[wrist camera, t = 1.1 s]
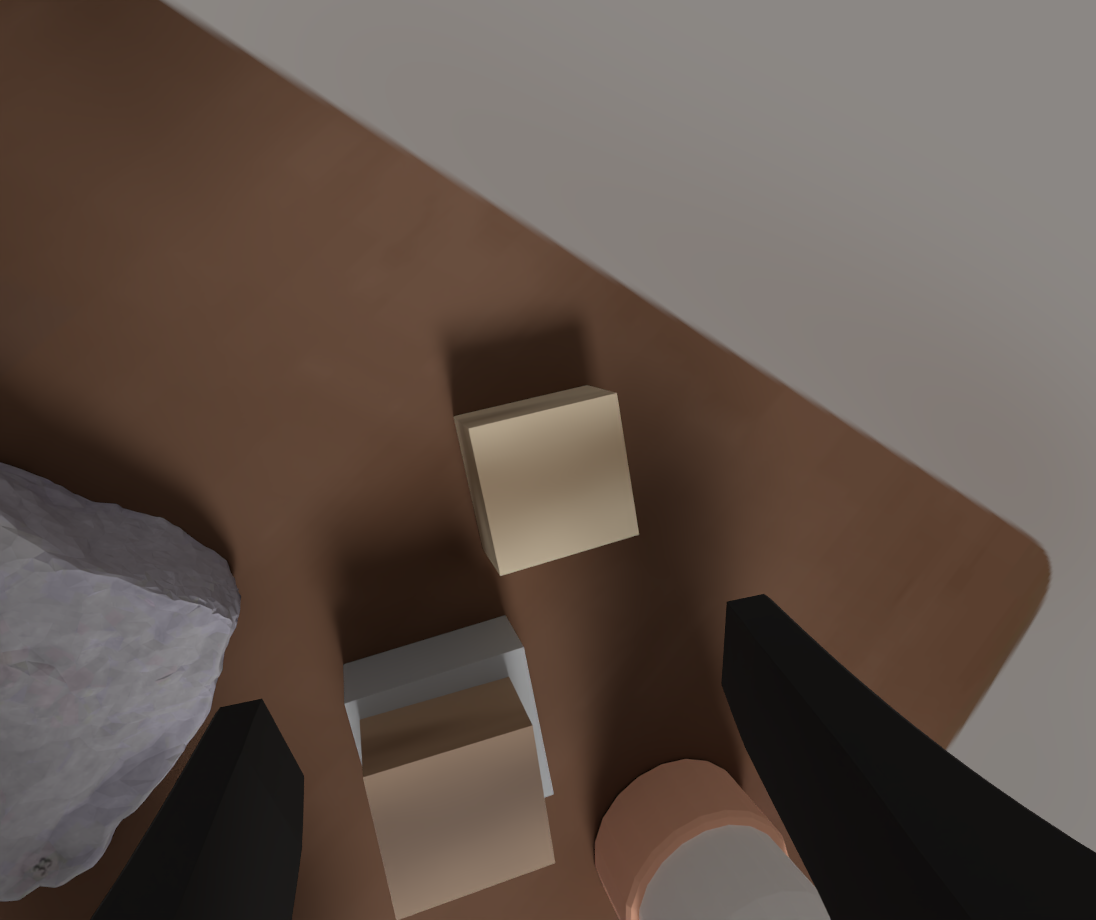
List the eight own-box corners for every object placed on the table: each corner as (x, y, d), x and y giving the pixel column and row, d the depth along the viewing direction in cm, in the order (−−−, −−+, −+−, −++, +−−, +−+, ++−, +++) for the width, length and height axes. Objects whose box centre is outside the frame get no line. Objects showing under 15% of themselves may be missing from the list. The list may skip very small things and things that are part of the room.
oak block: (606, 511, 27) (638, 534, 24) (481, 547, 25) (500, 576, 23) (585, 384, 25) (616, 392, 22) (452, 415, 24) (468, 428, 21)
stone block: (269, 539, 25) (-73, 417, 19) (284, 604, 21) (-143, 474, 15) (112, 814, 25) (-259, 770, 20) (98, 931, 21) (-373, 914, 16)
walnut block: (530, 801, 25) (554, 863, 22) (389, 848, 23) (396, 920, 21) (509, 676, 23) (532, 725, 21) (359, 719, 22) (362, 777, 19)
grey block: (531, 745, 28) (553, 793, 25) (382, 798, 26) (387, 855, 23) (503, 611, 26) (523, 647, 23) (343, 659, 25) (344, 703, 22)
